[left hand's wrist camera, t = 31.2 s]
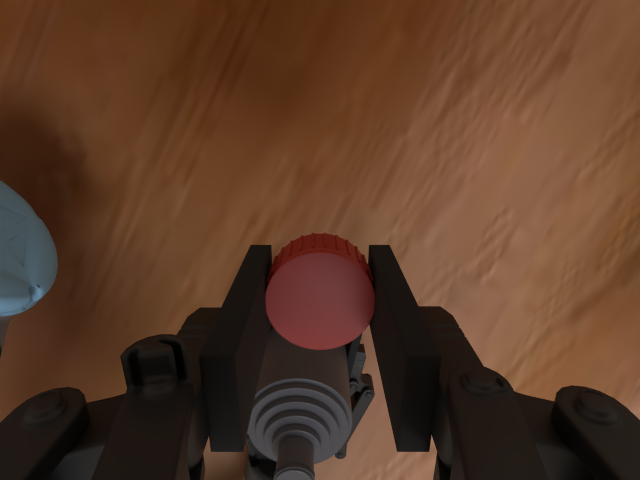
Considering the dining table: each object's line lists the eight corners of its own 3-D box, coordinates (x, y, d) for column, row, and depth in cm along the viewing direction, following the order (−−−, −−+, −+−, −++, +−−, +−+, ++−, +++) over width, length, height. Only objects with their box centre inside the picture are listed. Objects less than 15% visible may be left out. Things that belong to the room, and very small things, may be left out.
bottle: (348, 287, 43) (369, 443, 23) (336, 348, 46) (346, 534, 26) (274, 277, 43) (233, 428, 23) (267, 340, 46) (225, 522, 26)
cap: (262, 313, 15) (254, 341, 13) (278, 222, 14) (273, 240, 12) (357, 330, 15) (361, 359, 13) (381, 243, 14) (390, 263, 12)
